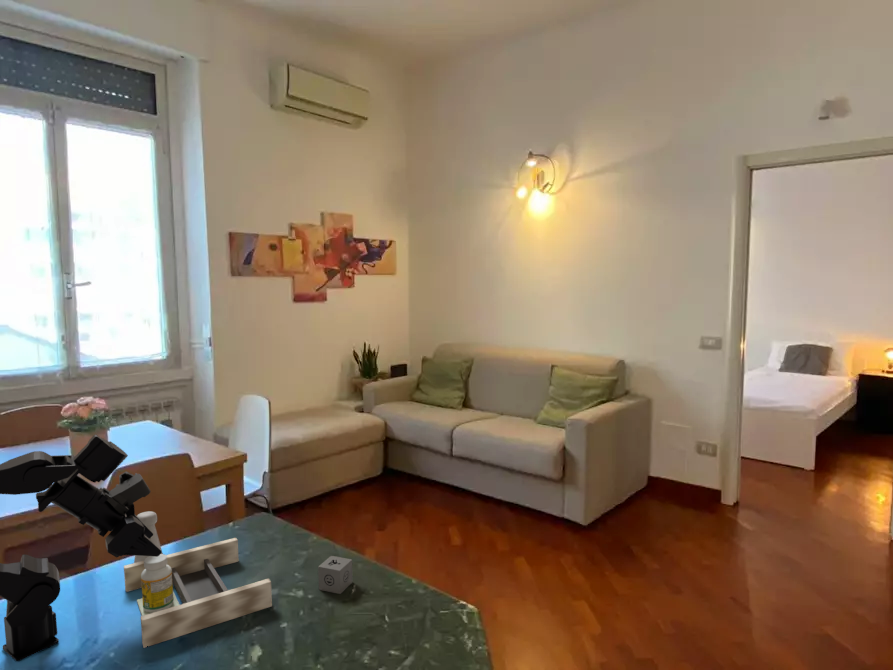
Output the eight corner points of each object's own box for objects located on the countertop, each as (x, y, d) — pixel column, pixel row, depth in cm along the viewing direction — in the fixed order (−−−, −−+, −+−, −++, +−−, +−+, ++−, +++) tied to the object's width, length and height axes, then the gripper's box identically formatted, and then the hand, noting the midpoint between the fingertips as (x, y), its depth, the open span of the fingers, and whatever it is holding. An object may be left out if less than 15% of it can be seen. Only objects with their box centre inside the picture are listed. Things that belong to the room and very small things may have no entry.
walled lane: (143, 647, 104) (141, 620, 103) (125, 589, 123) (123, 565, 123) (271, 606, 117) (271, 581, 116) (236, 558, 136) (235, 537, 136)
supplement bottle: (174, 609, 115) (171, 561, 114) (143, 616, 112) (140, 567, 111) (172, 595, 120) (170, 549, 119) (142, 603, 117) (139, 555, 116)
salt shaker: (169, 565, 133) (166, 508, 132) (154, 578, 128) (151, 519, 126) (144, 564, 134) (141, 508, 133) (128, 577, 128) (124, 518, 127)
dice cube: (331, 578, 127) (331, 555, 127) (352, 582, 126) (352, 559, 125) (318, 589, 123) (318, 566, 122) (340, 594, 121) (339, 570, 120)
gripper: (126, 478, 103) (197, 525, 110) (113, 452, 118) (176, 495, 125) (75, 534, 99) (152, 579, 106) (68, 500, 114) (136, 541, 122)
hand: (155, 544), depth 115 cm, fingers open, 9 cm apart
